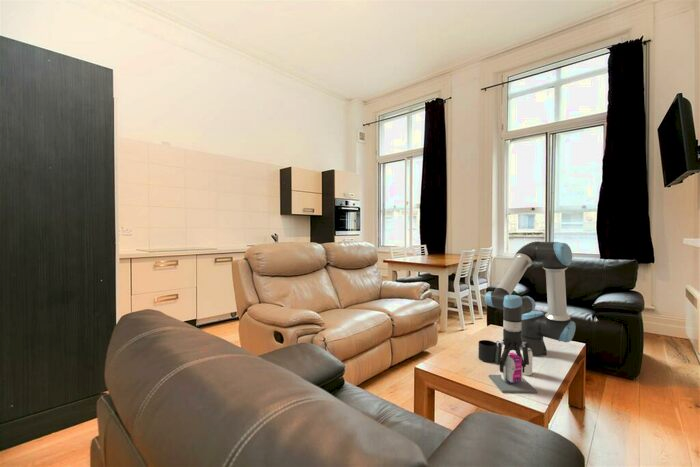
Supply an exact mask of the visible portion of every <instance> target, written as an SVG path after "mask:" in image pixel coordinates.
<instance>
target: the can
mask: <svg viewBox="0 0 700 467" xmlns="http://www.w3.org/2000/svg"><path fill="white" fill-rule="evenodd" d="M519 348H520V351H521V355H522V358H523V350H522V347H519ZM527 349H528V359H529V365H526V367H524V373H523V374H522V376H527V377H529V376H532V374H533V356H532V351H531V349H530V348H527ZM523 361H524V360H523Z"/></svg>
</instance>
